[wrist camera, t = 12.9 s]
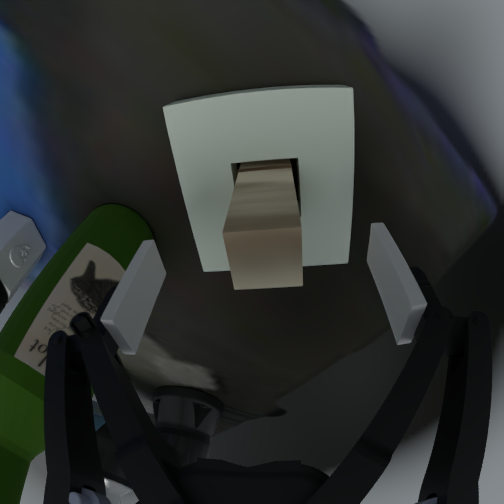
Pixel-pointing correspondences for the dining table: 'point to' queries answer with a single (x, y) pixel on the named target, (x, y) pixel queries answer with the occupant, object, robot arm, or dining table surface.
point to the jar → (17, 253)
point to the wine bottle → (56, 328)
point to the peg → (264, 227)
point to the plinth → (268, 148)
